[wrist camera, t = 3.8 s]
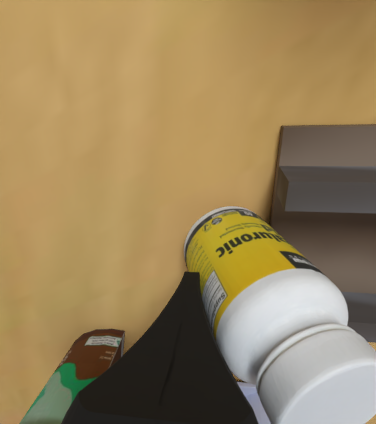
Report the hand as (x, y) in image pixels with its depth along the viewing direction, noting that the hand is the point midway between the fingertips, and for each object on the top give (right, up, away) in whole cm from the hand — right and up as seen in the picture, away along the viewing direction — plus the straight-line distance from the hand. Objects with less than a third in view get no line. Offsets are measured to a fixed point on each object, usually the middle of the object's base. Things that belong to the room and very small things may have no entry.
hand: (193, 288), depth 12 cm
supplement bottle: (+2, +2, +4) cm, 5 cm away
